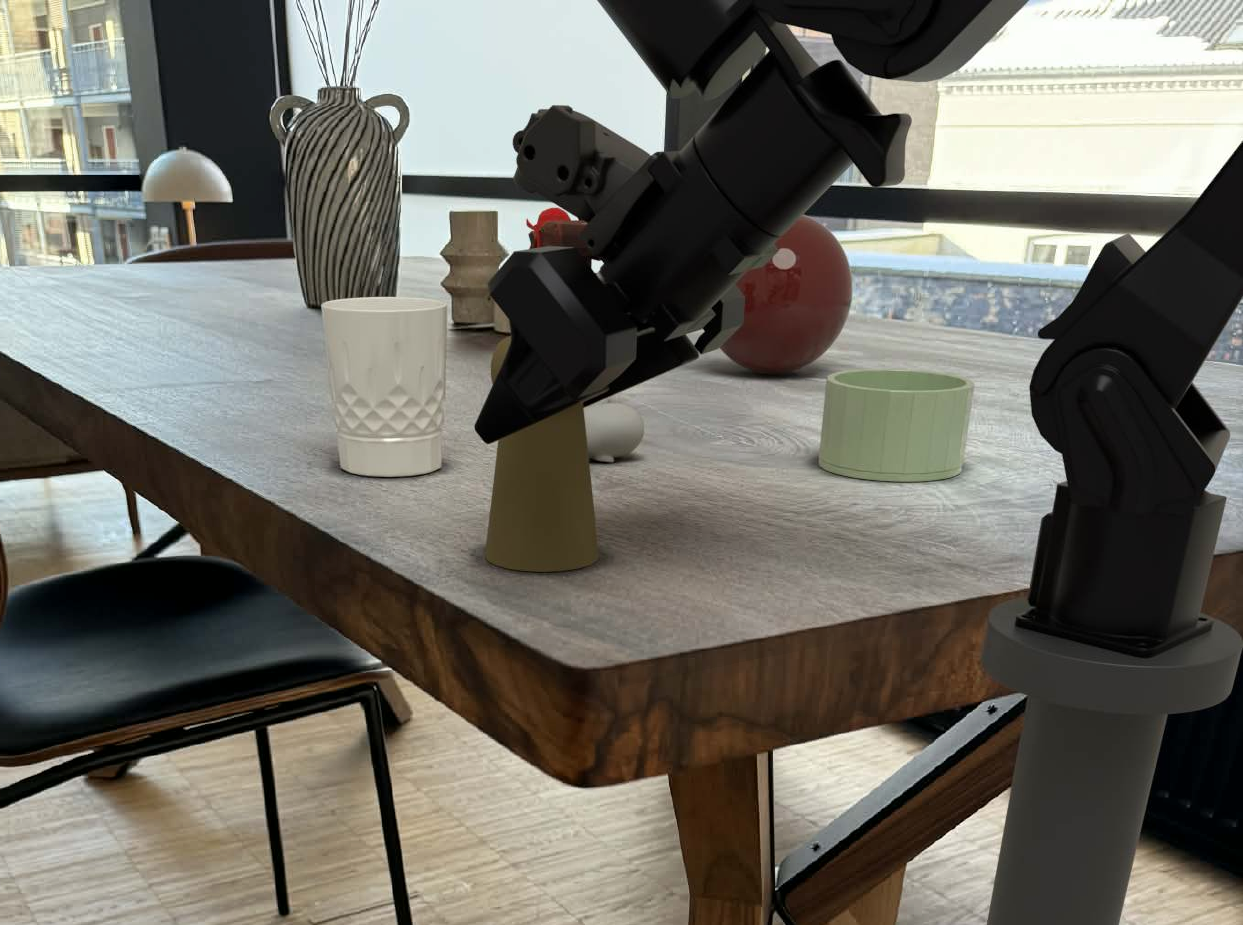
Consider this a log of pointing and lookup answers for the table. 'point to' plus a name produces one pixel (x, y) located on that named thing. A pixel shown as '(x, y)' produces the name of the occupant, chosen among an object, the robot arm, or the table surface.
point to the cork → (542, 494)
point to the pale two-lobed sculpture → (612, 430)
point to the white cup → (387, 382)
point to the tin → (895, 424)
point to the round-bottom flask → (793, 302)
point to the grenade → (559, 232)
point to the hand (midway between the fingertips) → (518, 423)
